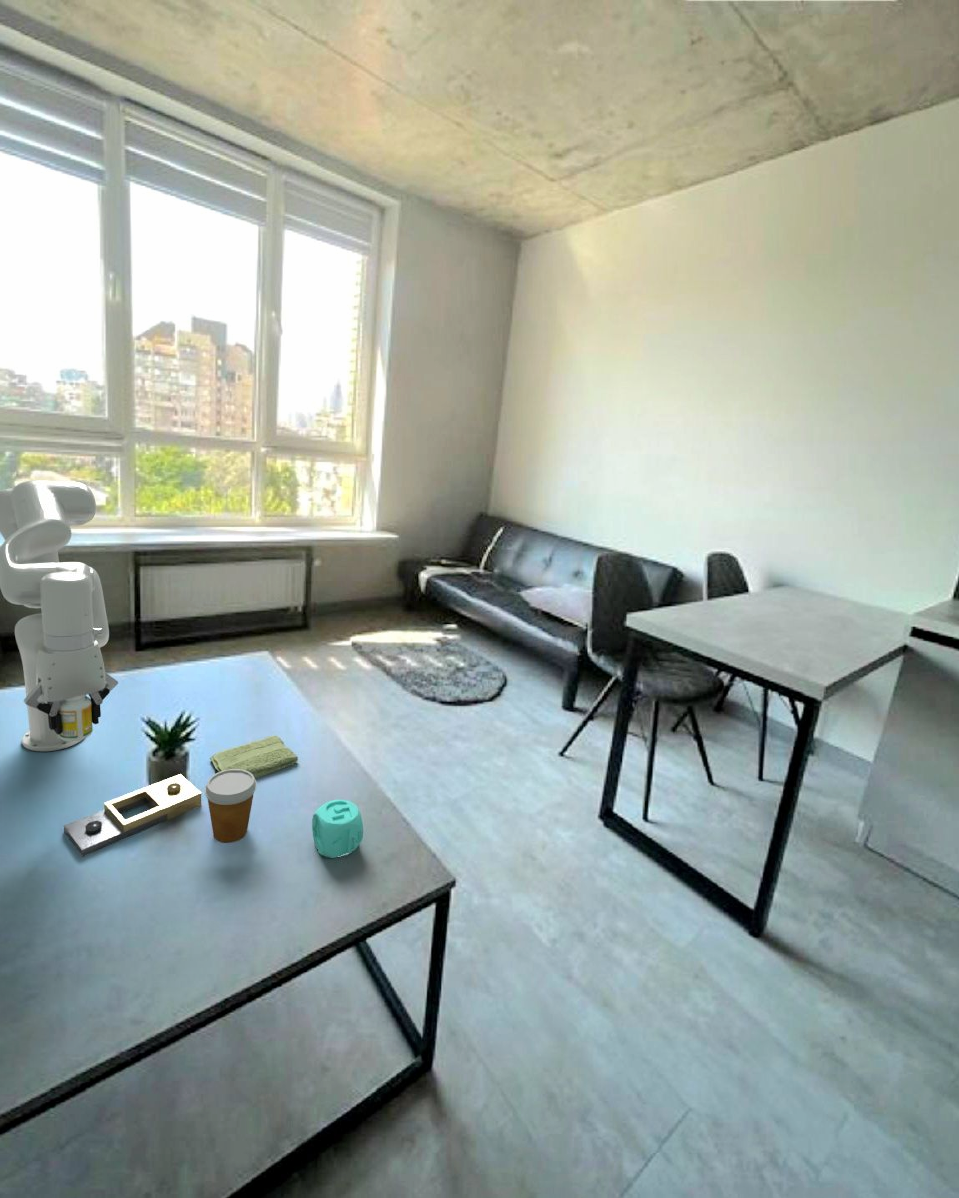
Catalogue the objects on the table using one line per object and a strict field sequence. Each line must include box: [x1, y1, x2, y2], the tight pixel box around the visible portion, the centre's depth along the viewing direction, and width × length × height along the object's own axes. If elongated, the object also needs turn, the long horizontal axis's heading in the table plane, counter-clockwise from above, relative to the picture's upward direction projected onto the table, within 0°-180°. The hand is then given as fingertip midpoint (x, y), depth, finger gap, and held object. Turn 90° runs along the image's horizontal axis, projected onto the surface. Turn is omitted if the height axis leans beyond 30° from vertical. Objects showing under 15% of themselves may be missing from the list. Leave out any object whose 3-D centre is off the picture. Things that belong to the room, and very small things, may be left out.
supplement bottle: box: [58, 695, 94, 741], centre depth 109 cm, size 5×5×10 cm
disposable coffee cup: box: [203, 769, 258, 844], centre depth 113 cm, size 10×10×12 cm
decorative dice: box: [311, 799, 364, 859], centre depth 115 cm, size 8×8×8 cm
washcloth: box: [209, 735, 299, 779], centre depth 138 cm, size 13×18×3 cm
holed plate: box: [63, 773, 202, 858], centre depth 115 cm, size 9×22×4 cm, turn 143°
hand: (75, 725), depth 110 cm, fingers closed on supplement bottle, 5 cm apart
